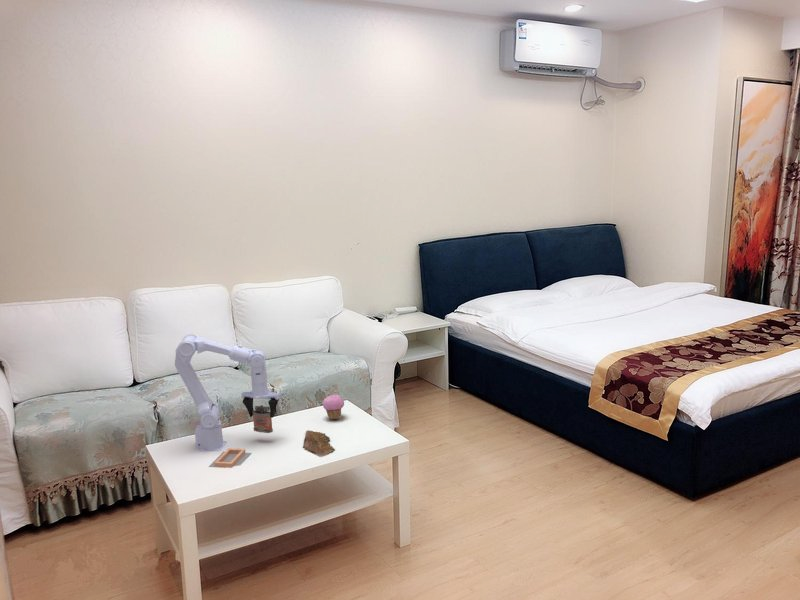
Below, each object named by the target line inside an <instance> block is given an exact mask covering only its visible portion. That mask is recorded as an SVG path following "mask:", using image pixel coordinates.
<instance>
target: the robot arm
mask: <svg viewBox="0 0 800 600" xmlns="http://www.w3.org/2000/svg"><path fill="white" fill-rule="evenodd" d="M196 352H197V355H198V354H201V353H204V352H211V353H216V354H220V355H224V356H227V357H229V359H230V360H231V361H234V362H238V363H241V364H245V365H249V366H250V369H251V370H250V377H251V390H252V391H243V392H242V393H241V399H243V400H242V404H243V405H244V406H245V408H246V410H247V412H248V415H249V417H252V418H253V414H252V412H253V411H254V400H259V399H267V400H268V401H267V402H268V407H269V412H270V416H271V419H272V418H274V417H275V415H276V414H275V413H276V409H277V405H278V403H279V400H280V397H281V395H280V392H272V391H269V388H268V376H267V367H266V361H267V360H266V359H267V357H266V353H265V352H264V351H263V350H261V349H259V348H258V349H255V348H252V349H251V348H247V347H244V346H243V345H242V344H240V343H239V344H238V345H237V344H234V345H233V346H229V345H226V344H223V343H220V342H218V341H214V340H211V339H208V338H205V337H203V336H201V335H195V334H193V333H192V334H191V333H190V334H187V335H185V336H184V337H183V338H182V340H181V342H179V343H178V345H177V347H176V349H175V357H174V359H175V360H174V367H175V369H176V370H177V372H178V374H179V376H180V378H181V380H182V381H183V383H184V385H185V386H186V388H187V390H188V393H189V395H190V396H191V398H192V400H193V401H194V403H195V406H196V407H197V413H198V416H199V418H200V419H199V423H200V424H198V425H196V428H195V430H194V439H195V446H196V448H195V451H204V452H219V451H220V450H222V449H223V448H224V447H225V446H226V444H228V441H225V440H224V438H223V437H224V435H223V428H222V421H221V420H220V416H221V412H222V411H221V408H220V406H218V405H217V404H216V403H214V400H213V399H211V398H210V397H209V395H208V394H207V393H208V392H207V391H206V389H205V388H204V385H203V383H202V382H201V381H200V379H199V377H198V375H197V373H196V372H195V369H194V368H193V366H192V364H191V361H192V358H193V357H194V355H195V353H196ZM269 399H270V400H269Z"/></svg>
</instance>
